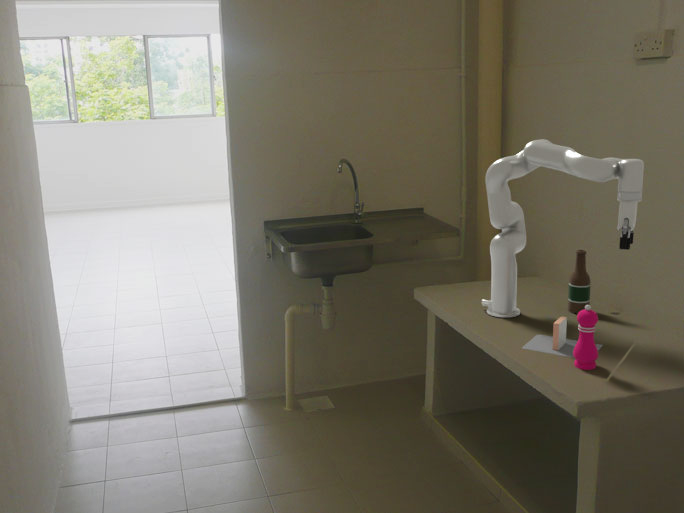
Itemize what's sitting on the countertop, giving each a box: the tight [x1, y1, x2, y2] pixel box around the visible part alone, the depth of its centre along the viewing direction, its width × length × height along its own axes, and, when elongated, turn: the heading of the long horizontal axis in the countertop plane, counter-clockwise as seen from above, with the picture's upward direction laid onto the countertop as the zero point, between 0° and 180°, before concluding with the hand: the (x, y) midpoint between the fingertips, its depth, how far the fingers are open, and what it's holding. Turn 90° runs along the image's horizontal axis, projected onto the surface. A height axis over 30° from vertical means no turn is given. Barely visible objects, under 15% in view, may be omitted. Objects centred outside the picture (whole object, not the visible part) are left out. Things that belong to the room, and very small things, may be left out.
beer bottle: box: [567, 249, 591, 315], centre depth 264 cm, size 8×8×24 cm
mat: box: [521, 333, 604, 359], centre depth 228 cm, size 22×16×1 cm
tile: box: [552, 316, 568, 350], centre depth 227 cm, size 2×8×9 cm, turn 146°
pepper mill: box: [573, 304, 599, 371], centre depth 209 cm, size 7×7×20 cm
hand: (626, 246), depth 235 cm, fingers open, 9 cm apart
